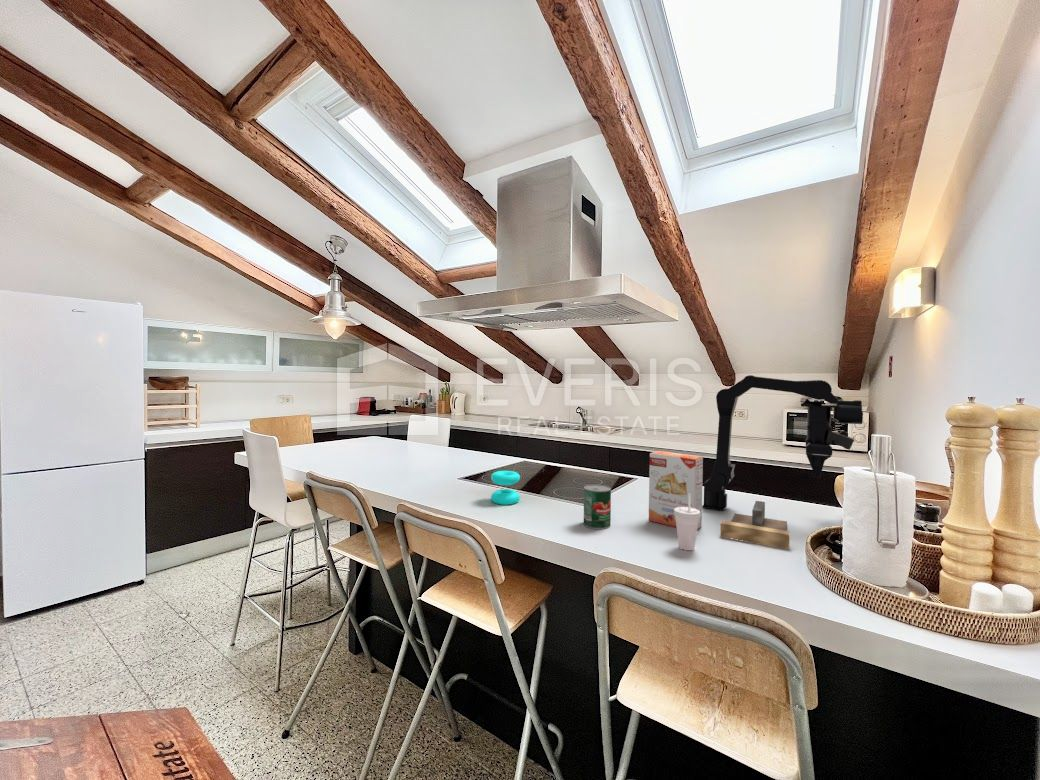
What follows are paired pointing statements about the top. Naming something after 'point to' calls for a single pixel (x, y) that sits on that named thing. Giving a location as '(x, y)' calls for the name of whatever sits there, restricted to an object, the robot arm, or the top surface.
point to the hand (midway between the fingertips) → (817, 474)
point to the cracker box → (674, 485)
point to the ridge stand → (759, 518)
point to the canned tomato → (597, 506)
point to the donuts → (505, 495)
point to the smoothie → (687, 525)
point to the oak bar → (755, 534)
